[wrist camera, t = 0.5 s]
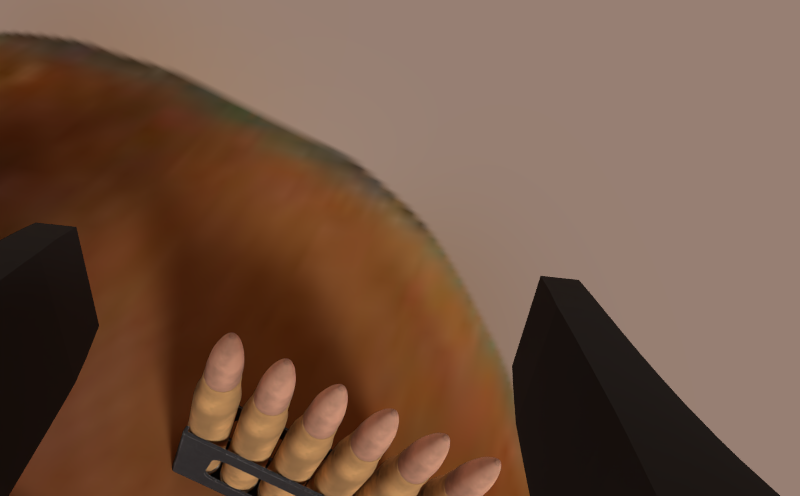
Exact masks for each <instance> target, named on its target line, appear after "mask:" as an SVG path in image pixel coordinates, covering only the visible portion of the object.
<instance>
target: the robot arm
mask: <svg viewBox="0 0 800 496" xmlns="http://www.w3.org/2000/svg"><path fill="white" fill-rule="evenodd" d="M98 327H99V324H98V319H97V315H96V311H95V306H94V302H93V298H92V293H91V289H90V285H89V280H88V276H87V272H86V267H85V263H84V259H83V254H82V250H81V246H80V241H79V237H78V233H77V228H76V227H72V226H62V225H53V224H43V223H34V224H32V225H30V226H27V227H25V228H23V229H21V230H19V231H17V232H15V233H13V234H11V235H9V236H7V237H6V238H4V239H2V240H0V496H9V494H10V493H11V491H12V489H13V487H14V486H15V484H16V482H17V481H18V479H19V477H20V476H21V474H22V472H23V471H24V469H25V467H26V466H27V464H28V462H29V461H30V459H31V457H32V456H33V454H34V452H35V451H36V449H37V447H38V446H39V444H40V442H41V441H42V439H43V437H44V436H45V434H46V432H47V430H48V429H49V427H50V425H51V424H52V422H53V420H54V419H55V417H56V415H57V413H58V412H59V410H60V408H61V407H62V405H63V403H64V401H65V400H66V398H67V396H68V395H69V393H70V391H71V389H72V387H73V386H74V384H75V382H76V380H77V378H78V375H79V373H80V371H81V368H82V366H83V364H84V362H85V359H86V357H87V354H88V352H89V349H90V347H91V344H92V342H93V339H94V337H95V334H96V332H97V329H98ZM512 372H513V389H514V404H515V417H516V426H517V431H518V437H519V442H520V447H521V453H522V458H523V463H524V468H525V473H526V478H527V483H528V488H529V493H530V496H780V495H779V494H778V493H777V492H775V491H774V490H773V489H772V488H771V487H770V486H769V485H768V484H767V483H765V482H764V481H763V480H762V479H761V478H760V477H759V476H758V475H757V474H756V473H754V472H753V471H752V470H751V469H750V468H749V467H748V466H747V465H745V463H743V462H742V461H741V460H740V459H739V458H738V457H737V456H736V455H735V454H734V453H733V452H732V451H731V450H730V449H729V448H728V447H727V446H726V445H725V444H724V443H722V441H721V440H720V439H718V438H717V437H716V436H715V435H714V433H713V432H712V431H711V430H710V429H709V428H708V427H707V426H706V425H705V424H704V423H703V422H702V421H701V420H700V419H699V418H698V417H697V416H696V415H695V414H694V413H693V412H692V411H691V410H690V409H689V408H688V407H687V406H686V405H685V404H684V402H683V401H682V400H681V399H680V398H679V397H678V396H677V395H676V394H675V393H674V391H673V390H672V389H671V388H670V387H669V386H668V385H667V384H666V383H665V382H664V380H663V379H662V378H661V377H660V376H659V375H658V374H657V373H656V371H655V370H654V369H653V368H652V367H651V366H650V365H649V363H648V362H647V361H646V360H645V359H644V358H643V357H642V355H641V354H640V353H639V352H638V351H637V349H636V348H635V347H634V346H633V345H632V343H631V342H630V341H629V340H628V339H627V337H626V336H625V335H624V334H623V333H622V332H621V330H620V329H619V328H618V327H617V326H616V324H615V323H614V322H613V321H612V319H611V318H610V317H609V316H608V314H607V313H606V312H605V311H604V310H603V308H602V307H601V306H600V305H599V304H598V302H597V301H596V300H595V299H594V297H593V296H592V295H591V294H590V293H589V292H588V291H587V289H586V288H585V287H584V286H583V284H582V283H581V282H580V281H579V280H573V279H563V278H555V277H545V276H541V277H540V280H539V283H538V286H537V289H536V293H535V296H534V299H533V302H532V305H531V308H530V312H529V315H528V318H527V321H526V325H525V328H524V330H523V334H522V337H521V340H520V343H519V346H518V349H517V353H516V356H515V359H514V362H513V365H512Z"/></svg>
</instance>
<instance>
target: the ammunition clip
mask: <svg viewBox="0 0 800 496" xmlns="http://www.w3.org/2000/svg"><path fill="white" fill-rule="evenodd" d="M243 368H244V349H243V345H242V342H241V340H240V338H239V336H238V335H237V334H235V333H228V334H226V335H224V336H223V337H222V338H221V339H220V340H219V341H218V342H217V343H216V344H215V346H214V347H213V349H212V351H211V353H210V355H209V358H208V360H207V363H206V367H205V369H204V372H203V375H202V377H201V379H200V380H199V381H198V383H197V385H196V388H195V390H194V394H193V400H192V405H191V411H190V416H189V421H188V426H186V427H185V429H184V430H183V433H182V436H181V440H180V443H179V446H178V449H177V453H176V456H175V459H174V462H173V466H172V470H173V471H174V472H176V473H178V474H181V475H183V476H185V477H187V478H189V479H191V480H193V481H196V482H198V483H200V484H202V485H204V486H206V487H209V488H211V489H213V490H215V491H217V492H219V493H221V494H224V495H226V496H483V495H484V494H485V493H486V492H487V491H488V490H489V489H490V488H491V487H492V485H493V484H494V483H495V481H496V479H497V477H498V475H499V473H500V470H501V462H500V460H499V459H497V458H494V457H482V458H477V459H474V460H471V461H469V462H466V463H464V464H462V465H460V466H459V467H457V468H456V469H455V470H452V471H450V472H448V473H447V474H445V475H442V476H439V477H436V478H433V479H431V480H430V481H428V482H427V483H426V484H424V483H425V482H426V481H427V480H428V479H429V477H430V476H432V475H433V474H434V473H435V472H436V471H437V470H438V468H439V467H440V466H441V465H442V463H443V461H444V459H445V457H446V455H447V453H448V450H449V447H450V438H449V436H448V435H447V434H444V433H435V434H431V435H427V436H424V437H422V438H420V439H419V440H417V441H415V442H414V443H412V444H411V445H410V446H409V447H408V448H406V449H404V450H403V451H402V452H401V453H400V454H398V455H396V456H393V457H390V458H388V459H387V460H386V461H385V462H383V463H382V464H381V465H380V466H379V467H378V468H377V469H376V467H377V464H378V461H379V460H380V458H381V457H382V455H383V454H384V452H385V451H386V450H387V449H388V447H389V446H390V444H391V442H392V440H393V439H394V437H395V435H396V432H397V428H398V423H399V416H398V413H397V411H396V410H394V409H384V410H381V411H378V412H376V413H374V414H373V415H371V416H370V417H368V418H367V419H366V420H365V421H363V422H362V423H361V424H360V425H359V427H358V428H357V429H355V430H354V431H353V432H352V433H351V434H350V435H348V436H347V437H345V438H344V439H342V440H341V441H339V442H338V444H337V445H336V446H335V447H334V449H333V450H332V449H330V448H331V447H332V443H333V438H334V435H335V433H336V431H337V430H338V426H339V425H340V423H341V422H342V420H343V417H344V415H345V412H346V408H347V402H348V394H347V390H346V388H345V386H344V385H342V384H335V385H332V386H330V387H328V388H326V389H325V390H323V391H322V392H321V393H319V394H318V395H317V396H316V397H315V399H314V400H313V401H312V402H311V404H310V405H309V407H308V408H307V409H306V410H305V412H304V413H303V415H302V416H301V417H299V418H298V419H296V420H295V421H294V422H293V424H292V425H291V427H290V428H289V429H288V428H285V425H286V422H287V418H288V408H289V405H290V401H291V399H292V396H293V392H294V388H295V383H296V374H295V367H294V365H293V363H292V361H291V360H290V359H287V358H285V359H281V360H279V361H277V362H276V363H274V364H273V365H272V366H271V367H270V368H269V369H268V370H267V371H266V372H265V374H264V375H263V376H262V378H261V379H260V381H259V383H258V386H257V388H256V389H255V390H254V393H253V395H252V396H251V397H250V398H249V399H248V401H247V402H246V403H245V404H244V406H243V407H241V406H239V404H240V401H241V397H242V388H241V381H242V372H243ZM234 421H238V423H237V425H236V428H235V431H234V434H233V437H232V439H231V438H229V436H230V433H231V430H232V427H233V423H234ZM279 439H281V440H283V441H282V442H281V444H280V446H279V448H278V450H277V452H276V453H275V455H274V457H273V459H272V458H270V456H271V454H272V452H273V450H274V448H275V446H276V444H277V442H278V440H279ZM323 459H324V460H325V461H324V462H323V463H322V465H321V466H320V467H319V468H318V470H317V471H316V472H315V470H316V469H317V467H318V466H319V465H320V463H321V462H322V460H323ZM375 469H376V470H375ZM314 472H315V474H314V475H313V476H312V474H313V473H314ZM311 476H312V477H311ZM423 484H424V485H423ZM422 485H423V486H422ZM421 486H422V487H421Z"/></svg>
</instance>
